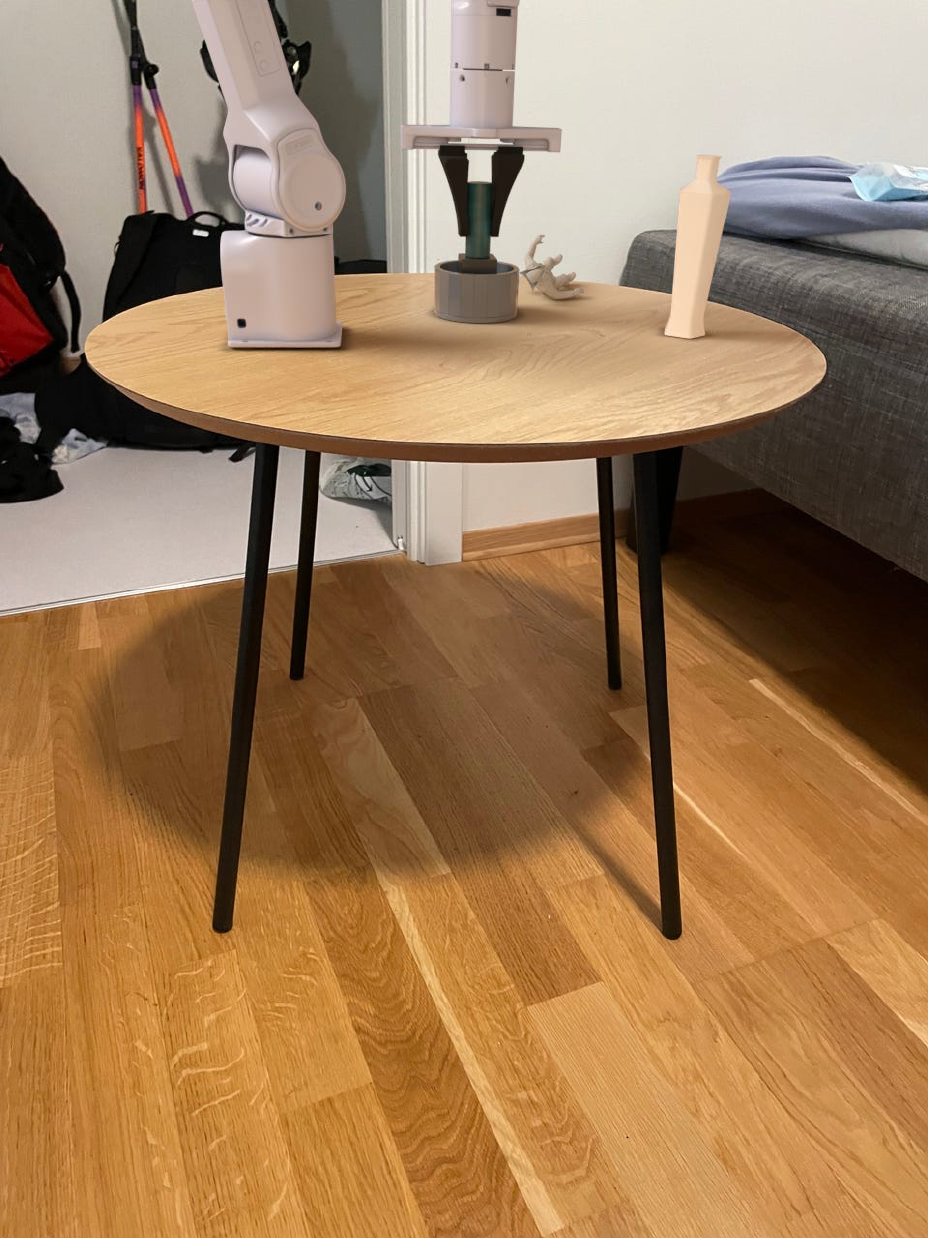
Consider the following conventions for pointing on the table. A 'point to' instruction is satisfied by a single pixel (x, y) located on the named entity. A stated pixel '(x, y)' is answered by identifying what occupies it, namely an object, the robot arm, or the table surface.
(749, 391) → the table surface
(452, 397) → the table surface
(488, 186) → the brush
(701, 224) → the peach faceted vase
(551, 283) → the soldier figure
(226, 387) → the table surface
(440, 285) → the low gray pot
